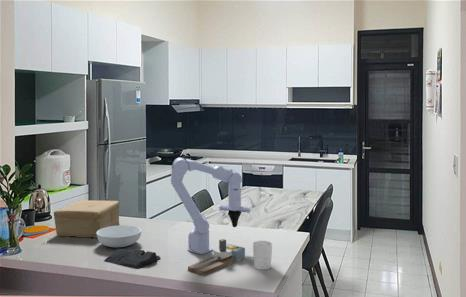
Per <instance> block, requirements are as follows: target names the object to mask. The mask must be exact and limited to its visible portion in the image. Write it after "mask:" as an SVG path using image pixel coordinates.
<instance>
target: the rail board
mask: <svg viewBox="0 0 466 297" xmlns="http://www.w3.org/2000/svg"><path fill="white" fill-rule="evenodd" d="M235 263H236V258H234V257H228V258H225V259H223V260H221V257H217V258H216V256H215V255H213V256H212V257H209V258H207V259H204V260H201V261H198V262H196V263H193V264H191V265H189V266H187V271H189V272H193V273H196V274H199V275H201V276H205V275H206V276H207V275H208V274H210V273H213V272H216V271H217V270H220V269H222V268H225V267H227V266H229V265H231V264H235Z"/></svg>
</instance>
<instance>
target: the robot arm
mask: <svg viewBox="0 0 466 297" xmlns="http://www.w3.org/2000/svg"><path fill="white" fill-rule="evenodd" d="M188 171H189V172H193V171H198V172H203V173H205V174H210V175H211V176H212V178H214V179H216V180H219V181H221V182H225V183H228V193H227V194H228V197H227V198H228V205H219V209H218V211H220V212H221V211H227V215H228V217H229V219H230V222H231V224H232V228H236V227H237V226H238V222H239V219H240V217H241V215H242V213H247V214H249V213H251V207H245V206H242V188H241V187H242V185H241V183H242V181H243V179H242V175H241V174H240V173H239V172H237V171H236V170H234V169H232V168H231V169H228V168H224V166H223V165H216V166H215V167H213V166H211V165H207V164H205V163H202V162H199V161H196V160H193V159H189V158H183V157H177V158H175V159H174V161H173V162H172V165H171V171H170V172H171V173H170V175H171V176H170V184H171V186H172V187H173V190H174V191H175V192H176V194H177V196H178V197H179V199H180V201H181V202H182V204H183V205H184V206H183V207H184V208H185V210H186V211H187V213H188V214H189V216H190V218H191V219H192V221H193V222H192V223H193V226H194V228H193V229H191V230H190V231H189V233H188V235H187V236H188V241H187V244H188V247H187V249H186V251H189V252H192V253H195V254H199V255H204V254H207V253H209V252H212V251H214V248H211V247H210V230H209V229H210V224H209V221H208V219H207V218H206V216H204V215H203V214H202V212H200V210H199V208H198V206H197V205H196V203H195V201H194V200H193V198H192V197H191V195H190V193H189V190H187V188H186V186H185V185H184V183H183V181H184V177H185V175H186V173H187V172H188Z"/></svg>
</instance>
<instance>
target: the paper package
mask: <svg viewBox="0 0 466 297" xmlns="http://www.w3.org/2000/svg"><path fill="white" fill-rule="evenodd" d="M119 203H120V202H119V200H89V199H88V200H85V199H84V200H83V199H82V200H81V199H80V200H78V201H75V202H73V203H70V204H69V205H65V206H64V207H62V208H60V209H57V210H55V211H54V212H53V218H54V225H55V232H56V236H58V237H70V236H76V237H75V238H91V237H93V238H94V239H98V238H97V234H96V232H97V231H98V230H100V229H102V228H106V227H110V226H119V225H120V207H119V206H120V204H119ZM93 238H92V239H93Z"/></svg>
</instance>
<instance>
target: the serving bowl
mask: <svg viewBox="0 0 466 297" xmlns="http://www.w3.org/2000/svg"><path fill="white" fill-rule="evenodd" d="M96 234H97V238H96V239H97V240H98V241H99V243H100V244H101V245H103V246H106V247H110V248H117V249H121V248H126V247H129V246H131V245H133V244H135V243H137V242H138V241H139V239H140V238H141V236H142V229H141V227H138V226H135V225H129V224H128V225H123V224H122V225H121V224H119V225H118V226H110V227H106V228H102V229H100V230H98V231H97V232H96Z"/></svg>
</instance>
